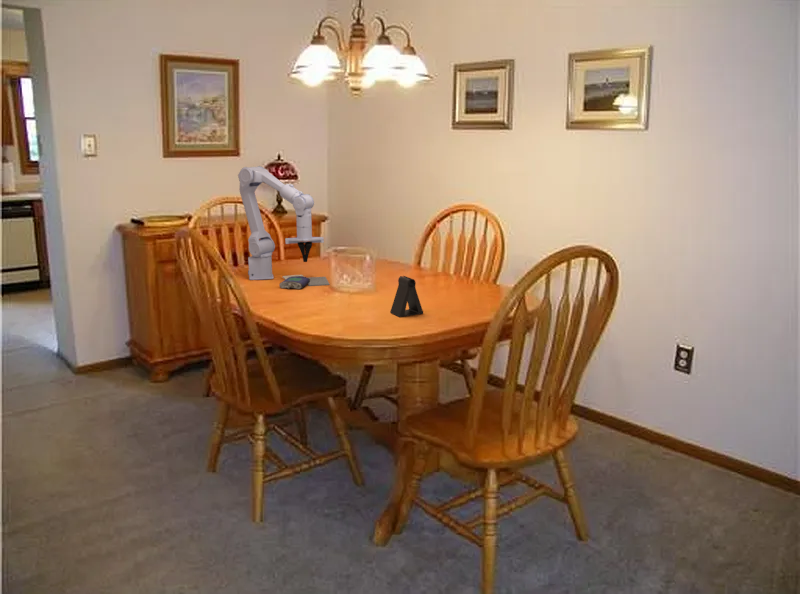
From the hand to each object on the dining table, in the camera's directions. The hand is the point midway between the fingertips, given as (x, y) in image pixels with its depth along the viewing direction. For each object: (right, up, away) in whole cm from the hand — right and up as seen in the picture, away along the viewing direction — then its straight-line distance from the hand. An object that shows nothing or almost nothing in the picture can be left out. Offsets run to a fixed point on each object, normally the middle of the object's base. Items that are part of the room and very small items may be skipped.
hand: (305, 261), depth 265 cm
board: (+4, -8, +4) cm, 10 cm away
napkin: (-6, -6, +11) cm, 14 cm away
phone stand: (+39, -19, -42) cm, 61 cm away
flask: (-2, -7, 0) cm, 7 cm away
